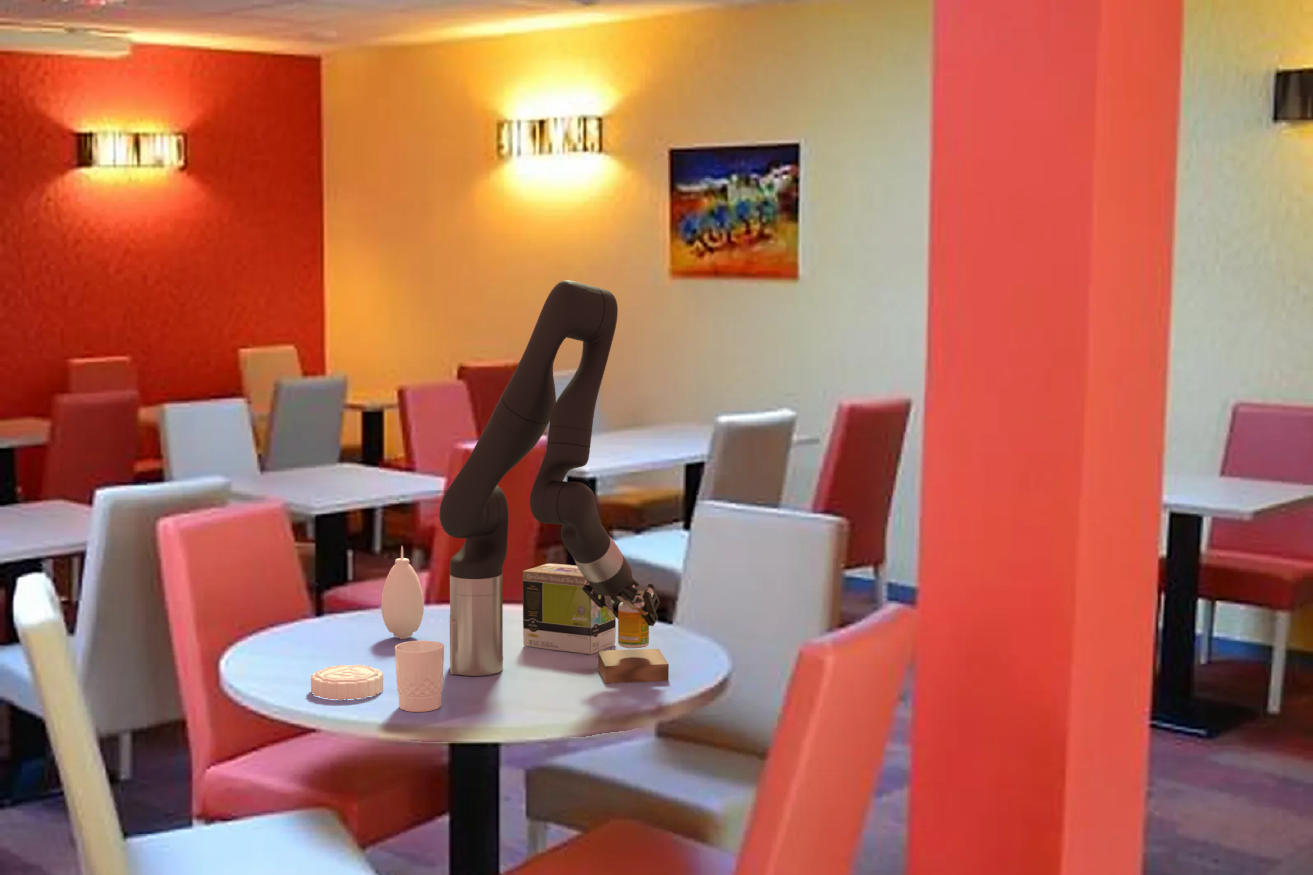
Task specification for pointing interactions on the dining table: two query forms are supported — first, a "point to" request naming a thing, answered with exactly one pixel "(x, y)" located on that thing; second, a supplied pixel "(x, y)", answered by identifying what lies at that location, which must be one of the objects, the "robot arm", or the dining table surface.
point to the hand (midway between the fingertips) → (638, 619)
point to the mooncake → (347, 682)
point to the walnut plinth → (633, 665)
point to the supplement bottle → (632, 627)
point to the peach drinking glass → (419, 675)
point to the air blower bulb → (402, 599)
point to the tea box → (563, 612)
